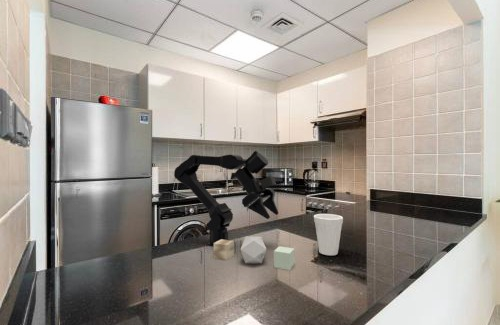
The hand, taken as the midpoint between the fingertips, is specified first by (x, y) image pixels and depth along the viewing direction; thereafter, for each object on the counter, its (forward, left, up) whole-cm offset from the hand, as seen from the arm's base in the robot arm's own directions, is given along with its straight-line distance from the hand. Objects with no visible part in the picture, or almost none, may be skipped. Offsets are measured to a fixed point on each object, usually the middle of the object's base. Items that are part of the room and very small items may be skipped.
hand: (273, 216), depth 87 cm
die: (-3, -10, -13) cm, 17 cm away
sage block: (+7, -9, -13) cm, 18 cm away
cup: (+18, +8, -13) cm, 23 cm away
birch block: (-14, -10, -13) cm, 22 cm away
